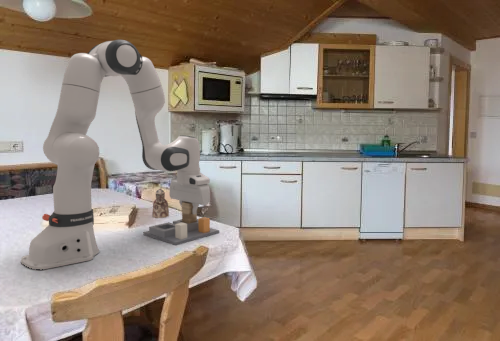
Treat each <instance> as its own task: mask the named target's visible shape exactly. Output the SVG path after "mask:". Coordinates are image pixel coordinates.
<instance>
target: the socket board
mask: <svg viewBox="0 0 500 341" xmlns="http://www.w3.org/2000/svg"><path fill="white" fill-rule="evenodd" d="M210 223H211V219H210V218H209V217H206V216H205V217H204V216H203V217H199V218H197V222H193V223H189V224H188V223H184V222H182V218H181V219H177V220H173V221H172V222H169V221H168V222H164V223H160V224H156V225H151V226H149V227H148V230H147V231H144V232H143V236H146V237H149V238H152V239H155V240H159V241H162V242H163V243H164V242H165V243H167V244H170V245H174V246H178V245H182V244H185V243H188V242H192V241H196V240H199V239H202V238H205V237H209V236H213V235H215V234H216V233H217V234H219V233H220V230H219V229H215V228H212V227H211V224H210Z"/></svg>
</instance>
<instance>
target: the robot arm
mask: <svg viewBox="0 0 500 341" xmlns="http://www.w3.org/2000/svg"><path fill="white" fill-rule="evenodd" d="M118 76H119V77H120V76H121V77H122V78H123V79H124V80H125V82H126V84H127V87H128V90H129V93H130V96H131V100H132V103H133V107H134V112H135V113H134V114H135V120H136V124H137V129H138V132H139V136H140V140H141V141H140V142H141V145H142V146H141V147H142V149H141V150H142V152H141V153H142V154H141V155H142V156H141V158H142V162H143V165H145V167H146V168H147V169H149V170H152V171H163V172H169V173H170V172H171V173H172V172H176V175H173V176H172V177H171V179H170V184H169V198H170V199H173V200H177V201H179V204H180V208H182V202H190V203H192V205H193V209H191V214H198V209H199V206H200V205H201V206H205V205H208V204H209V203H210V202H211V189H210V185H209V184H210V178H209V177H208V176H206V175H204V174H203V173H202V172H201V167H200V162H201V161H200V160H201V150H200V148H201V147H200V142H199V140H198V138H196V137H195V136H191V135H190V136H189V135H185V134H184V135H183V134H182V135H178V136H177V138H175V139H174V141H172V142H169V143H168V144H163V143H162V142H161V141H160V139H159V136H158V132H157V128H156V123H155V122H156V121H155V120H156V116H157V114H158V113H159V112H160V111H161V110H162V109H163V108H164V106H165V103H166V99H165V98H166V97H165V92H164V88H163V86H162V83H161V80H160V77H159V74H158V72H157V70H156V68H155V66H154V64H153V61H152V60H151V59H150V58H148V57H146V56H142V55H141V52H139V50H138V48H136V45H134V44H133V43H131V41H129V40H124V39H115V40H106V41H104V42H102V43H100V44H96V45H95V46H93V47H92V48H91V49H90V50H89V51H88V52H87V53H86V52H79V53H74V54H73V55H71V57H70V59H69V60H68V62H67V66H66V68H65V72H64V75H63V78H62V84H61V89H60V95H59V100H58V105H57V110H56V113H55V116H54V119H53V121H52V123H51V127H50V128H49V132H48V134H47V136H46V138H45V140H44V141H43V143H42V144H43V145H42V150H43V154H44V156H45V157H46V158H47V159H48V161H49V162H51V163H52V164H54V165H57V171H56V178H55V182H54V184H53V186H52V199H53V212H52V213H51V214H48V213H44V214H43V215H42V217H41V218H42V220H43V221H46V222H48V225H47V226H46V227H45V228H43V230H42V231H40V233H38V234H37V235H36V236H35V237H34V238H33V239H31V240H30V244H29V248H28V254H26V255H24V256H22V257H21V259H20V263H21V264H22V265H23V264H24V265H25V266H24V265H23V266H24V267H26V266H27V267H26V268H28V267H29V269H31V268H32V270H36V269H40V271H43V270H47V269H53V268H58V267H62V266H68V265H72V264H73V265H74V264H77V263H82V262H89V261H92V260H93V259H94V257H95V256H96V255H98V254H99V252H100V249H99V246H98V243H97V241H96V237H95V236H96V235H95V230H94V223H95V219H94V218H95V216H94V209H93V206H92V205H93V204H92V180H93V175H94V170H95V169H94V168H95V164H96V163H97V161H98V160H99V156H100V147H99V145H98V143H97V142H96V141H95V140H94V139H93V138H92V137H90V136H89V135H87V133H88V131H89V128H90V126H91V124H92V122H93V121H94V120H95V118H96V115H97V108H98V103H99V98H100V92H101V86H102V85H101V84H102V81H103V79H104V78H105V77H118ZM42 269H43V270H42Z"/></svg>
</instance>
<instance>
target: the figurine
mask: <svg viewBox="0 0 500 341" xmlns="http://www.w3.org/2000/svg"><path fill="white" fill-rule="evenodd" d="M165 196H166V195H165V191H164V190H163V189H162V188H158V190H156V192H155V199H154V200H153V202H152V214H151V215H152V218H156V219H163V218H168V217H169V215H170V214H169V213H170V212H169V211H170V210H169V204H168V203H169V202H168V200H167V199H165Z"/></svg>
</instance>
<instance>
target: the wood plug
mask: <svg viewBox="0 0 500 341" xmlns="http://www.w3.org/2000/svg"><path fill="white" fill-rule="evenodd" d="M191 209H193V205H192V203H190V202H182V207H181V219H182V222H184V223H188V224H189V223H193V222H197V219H198V215H197V214H198V213H197V214H191Z"/></svg>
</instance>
